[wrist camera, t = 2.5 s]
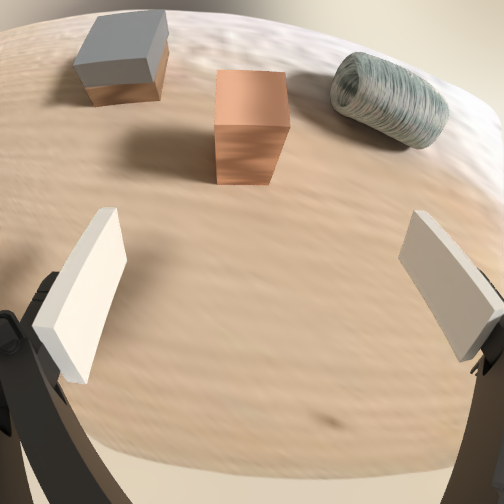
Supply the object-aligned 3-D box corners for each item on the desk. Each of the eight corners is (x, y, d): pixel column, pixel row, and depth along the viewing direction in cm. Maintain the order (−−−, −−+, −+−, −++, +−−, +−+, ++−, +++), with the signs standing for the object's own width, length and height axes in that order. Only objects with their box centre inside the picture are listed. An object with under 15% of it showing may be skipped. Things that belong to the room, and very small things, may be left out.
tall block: (217, 184, 30) (214, 124, 20) (218, 139, 31) (216, 70, 20) (268, 185, 31) (290, 126, 20) (266, 140, 32) (285, 72, 21)
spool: (311, 110, 29) (373, 38, 21) (319, 80, 35) (367, 24, 27) (407, 186, 32) (471, 134, 25) (399, 144, 38) (449, 98, 30)
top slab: (84, 87, 27) (72, 65, 24) (106, 38, 29) (97, 16, 25) (153, 82, 28) (146, 57, 24) (168, 33, 29) (164, 9, 25)
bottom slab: (96, 108, 31) (84, 89, 27) (110, 60, 33) (102, 41, 29) (160, 102, 32) (154, 81, 28) (169, 54, 33) (165, 32, 29)
